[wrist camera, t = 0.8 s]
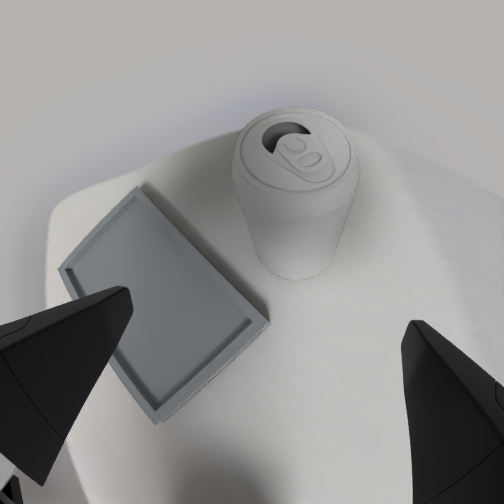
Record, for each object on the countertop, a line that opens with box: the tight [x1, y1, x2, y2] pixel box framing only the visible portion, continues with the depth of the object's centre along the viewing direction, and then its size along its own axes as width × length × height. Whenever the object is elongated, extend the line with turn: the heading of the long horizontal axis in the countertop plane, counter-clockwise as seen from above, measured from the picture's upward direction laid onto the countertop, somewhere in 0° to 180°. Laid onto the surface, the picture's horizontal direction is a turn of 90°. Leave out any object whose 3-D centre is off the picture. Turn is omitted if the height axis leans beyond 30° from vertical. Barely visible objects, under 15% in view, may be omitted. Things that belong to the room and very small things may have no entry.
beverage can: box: [231, 107, 360, 280], centre depth 18 cm, size 6×6×12 cm
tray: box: [58, 186, 270, 425], centre depth 23 cm, size 18×12×2 cm, turn 44°
